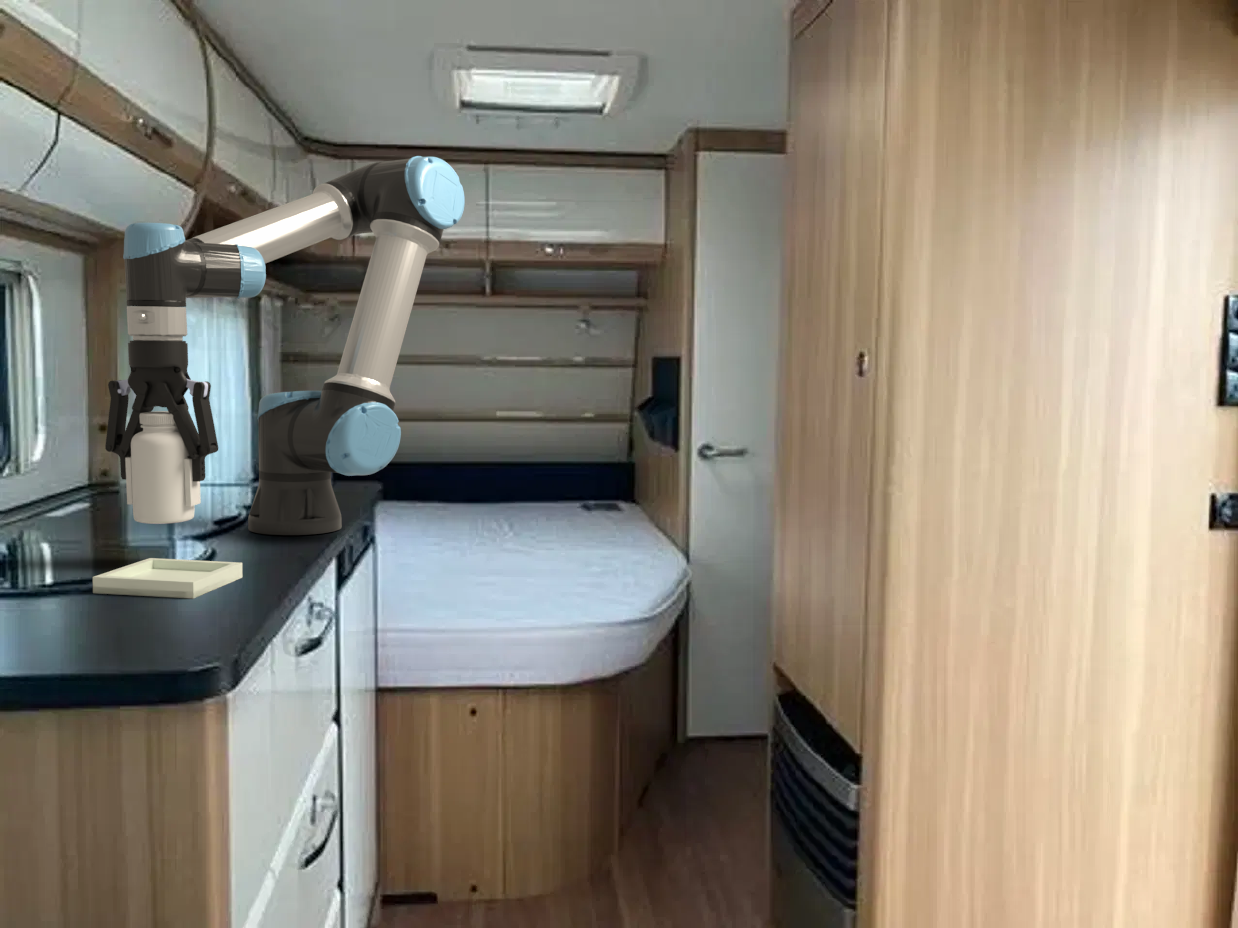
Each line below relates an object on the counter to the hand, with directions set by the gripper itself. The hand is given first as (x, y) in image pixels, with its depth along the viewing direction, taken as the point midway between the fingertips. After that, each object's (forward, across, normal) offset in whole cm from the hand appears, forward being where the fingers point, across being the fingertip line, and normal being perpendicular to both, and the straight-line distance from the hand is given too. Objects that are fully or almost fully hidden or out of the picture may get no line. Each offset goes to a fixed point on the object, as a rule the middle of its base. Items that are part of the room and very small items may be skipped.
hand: (164, 503), depth 154 cm
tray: (+8, +8, -13) cm, 17 cm away
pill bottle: (+3, 0, 0) cm, 3 cm away
